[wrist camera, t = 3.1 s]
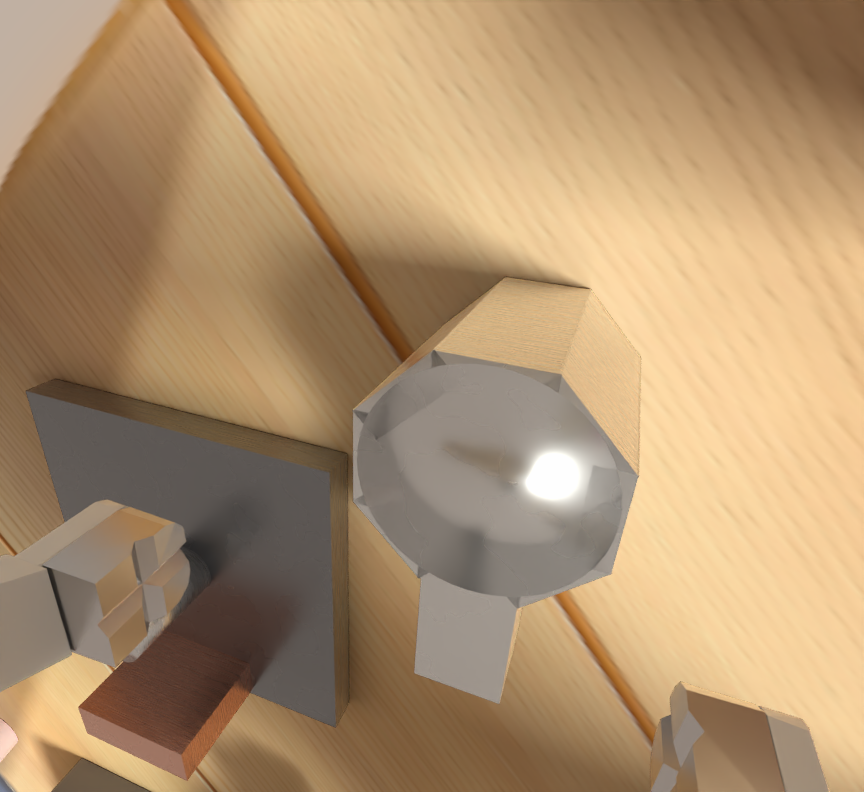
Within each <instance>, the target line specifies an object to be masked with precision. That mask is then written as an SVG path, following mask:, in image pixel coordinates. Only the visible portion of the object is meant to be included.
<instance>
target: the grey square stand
mask: <svg viewBox="0 0 864 792" xmlns="http://www.w3.org/2000/svg"><path fill="white" fill-rule="evenodd" d="M26 394H27V397H28V401H29V404H30V407H31V411H32V414H33V417H34V421H35V424H36V427H37V431H38V434H39V437H40V441H41V444H42V447H43V451H44V454H45V457H46V461H47V464H48V467H49V471H50V474H51V478H52V481H53V484H54V488H55V491H56V494H57V498H58V501H59V504H60V508H61V511H62V514H63V518H64V521H65V522H66V521H68V520H69V519H71V518H72V517H74V516H75V515H77V514H78V513H80V512H81V511H83V510H84V509H86V508H87V507H89V506H90V505H92V504H93V503H95V502H98V501H102V500H110V501H113V502H116V503H119V504H122V505H125V506H128V507H132V508H135V509H137V510H140V511H143V512H146V513H149V514H152V515H155V516H157V517H160V518H163V519H166V520H169V521H172V522H175V523H177V524H179V525H181V526H183V528H184V533H185V538H186V542H185V544H184V545H183V546H182V547H181V551H182V552H183V554H184V555H185V556H186V558H187V559H188V561H189V566H190V577H189V582H188V586H187V588H186V590H185V592H184V594H183V596H182V598H181V600H180V601H179V603H178V604H177V605H176V606H175V607H174V608H173V609H172V610H171V611H170V612H169V613H168V614H167V615H165V616H163V617H161V618H158V619H156V620H154V621H151V622H150V623H149V629H148V634H147V636H146V637H145V638H144V639H143V640H142V641H141V642H140V643H139V644H138V645H137V646H136V647H135V648H134V650H133V651H132V652H131V653H130V654H129V655H128V656H127V657H126V658H125V659H124V660H123V661H124V662H123V663H122V664H121V665H120V666H119V667H118V668H117V669H116V670H115V671H114V672H113V673H112V674H111V675H110V676H109V677H108V678H107V679H106V680H105V681H104V682H103V683H102V684H101V685H100V686H99V687H98V688H97V689H96V690H95V691H94V692H93V693H92V694H91V695H90V696H89V697H88V698H87V699H86V700H85V701H84V702H83V703H82V704H81V705H80V706H79V707H78V708H79V711H80V714H81V717H82V719H83V722H84V725H85V728H86V731H87V733H88V734H90V735H92V736H94V737H96V738H99V739H101V740H103V741H105V742H107V743H109V744H111V745H113V746H115V747H117V748H120V749H122V750H124V751H126V752H128V753H130V754H132V755H134V756H136V757H138V758H140V759H143V760H145V761H147V762H149V763H151V764H153V765H155V766H157V767H159V768H161V769H163V770H166V771H168V772H170V773H172V774H174V775H176V776H178V777H180V778H182V779H184V780H187V781H188V779H189V778H190V776H191V775H192V773H193V772H194V771H195V769H196V768H197V766H198V765H199V764H200V762H201V761H202V759H203V758H204V757H205V755H206V754H207V752H208V751H209V750H210V748H211V747H212V745H213V744H214V743H215V741H216V740H217V738H218V737H219V735H220V734H221V733H222V731H223V730H224V728H225V727H226V726H227V724H228V723H229V721H230V720H231V719H232V717H233V716H234V714H235V713H236V712H237V710H238V709H239V707H240V706H241V705H242V703H243V702H244V700H245V699H246V697H247V696H248V695H249V693H252V694H255V695H257V696H259V697H262V698H264V699H267V700H269V701H272V702H274V703H277V704H279V705H281V706H284V707H286V708H289V709H291V710H294V711H296V712H299V713H301V714H303V715H306V716H308V717H311V718H313V719H316V720H318V721H321V722H323V723H325V724H328V725H330V726H333V727H335V728H336V726H337V725H338V723H339V721H340V719H341V717H342V715H343V713H344V711H345V709H346V707H347V705H348V704H349V619H348V484H347V453H343V452H339V451H335V450H331V449H327V448H323V447H319V446H315V445H311V444H308V443H304V442H300V441H296V440H292V439H288V438H284V437H280V436H276V435H272V434H269V433H265V432H261V431H257V430H253V429H249V428H245V427H241V426H237V425H233V424H229V423H226V422H222V421H218V420H214V419H210V418H206V417H202V416H198V415H194V414H190V413H187V412H183V411H179V410H175V409H171V408H167V407H163V406H159V405H155V404H151V403H147V402H144V401H140V400H136V399H132V398H128V397H124V396H120V395H116V394H112V393H108V392H105V391H101V390H97V389H93V388H89V387H85V386H81V385H77V384H73V383H69V382H65V381H62V380H58V379H53V380H51V381H48V382H46V383H43V384H41V385H39V386H36V387H34V388H31V389H29V390H26Z"/></svg>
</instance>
